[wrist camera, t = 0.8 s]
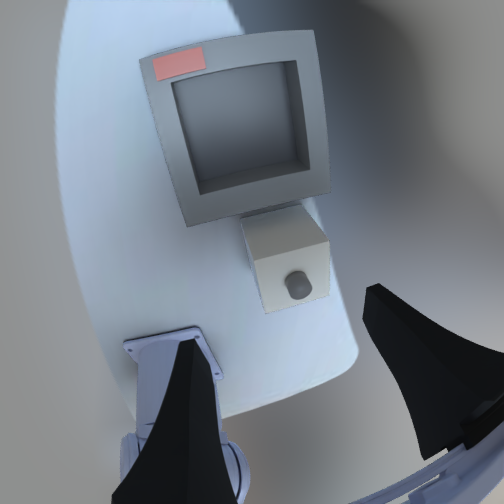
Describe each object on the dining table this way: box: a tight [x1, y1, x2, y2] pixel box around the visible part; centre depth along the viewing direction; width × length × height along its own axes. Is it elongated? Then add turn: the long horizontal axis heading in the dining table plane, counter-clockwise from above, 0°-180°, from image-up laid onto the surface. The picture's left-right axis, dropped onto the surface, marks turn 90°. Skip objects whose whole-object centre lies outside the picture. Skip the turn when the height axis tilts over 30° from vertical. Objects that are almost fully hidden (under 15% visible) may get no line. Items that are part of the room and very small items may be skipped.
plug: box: [240, 204, 330, 314], centre depth 19 cm, size 4×4×6 cm
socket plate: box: [139, 30, 331, 227], centre depth 14 cm, size 10×9×3 cm
